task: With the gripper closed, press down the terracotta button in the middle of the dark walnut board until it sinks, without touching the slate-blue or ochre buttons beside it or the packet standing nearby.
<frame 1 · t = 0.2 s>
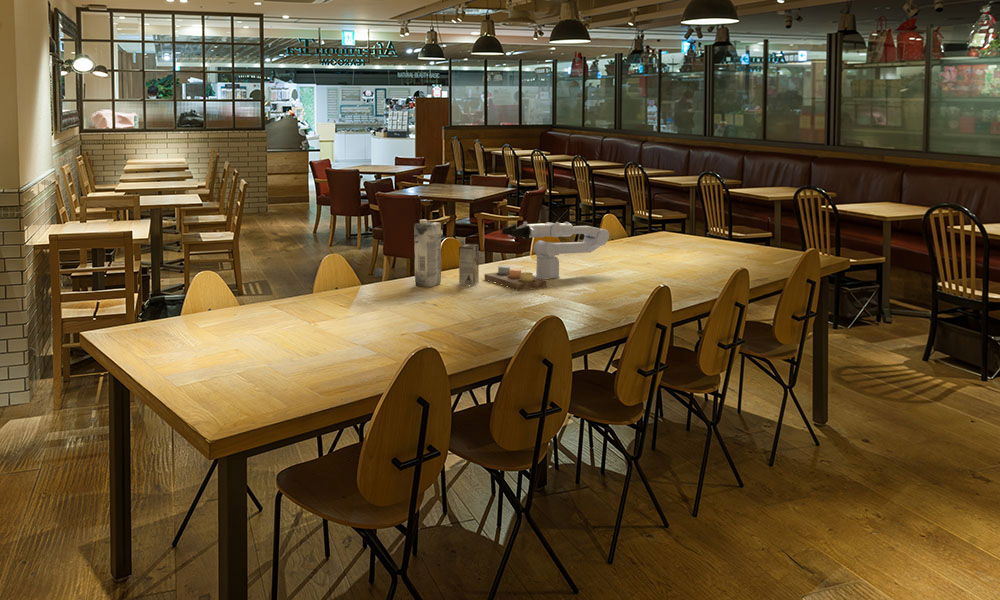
hand: (507, 232, 366), 21 cm above the table, tool horizontal, fingers open, 7 cm apart
juice carton: (428, 285, 363), on the table
button blue: (504, 270, 374), point 4 cm above the table, slide at 0.0 cm
coffee box: (469, 284, 366), on the table
board: (515, 283, 368), on the table
button terracotta: (515, 274, 367), point 4 cm above the table, slide at 0.0 cm
button ochre: (526, 277, 360), point 4 cm above the table, slide at 0.0 cm
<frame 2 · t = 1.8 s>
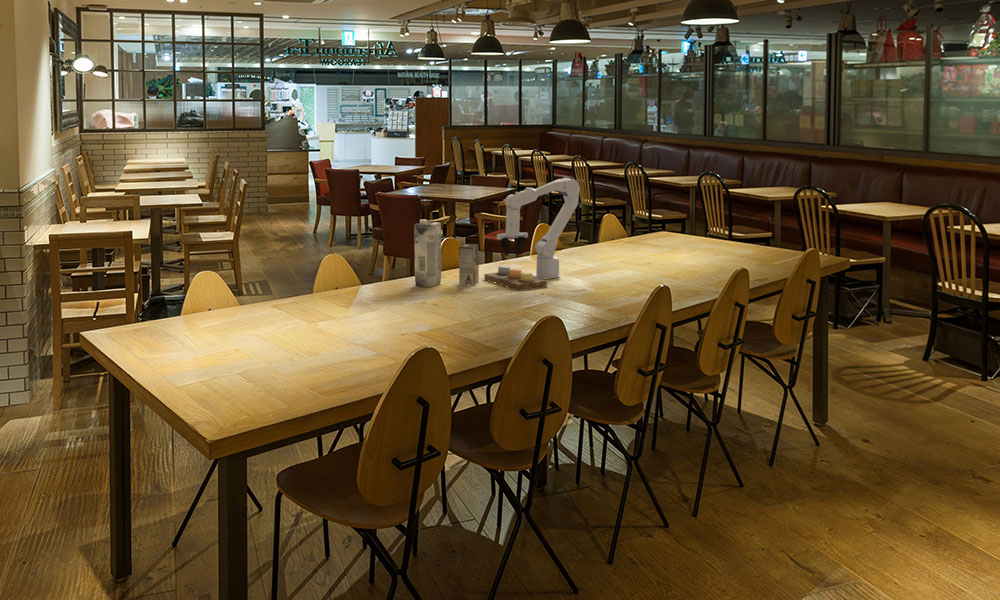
hand: (511, 255, 374), 10 cm above the table, tool pointing down, fingers open, 5 cm apart
nothing on the table moved.
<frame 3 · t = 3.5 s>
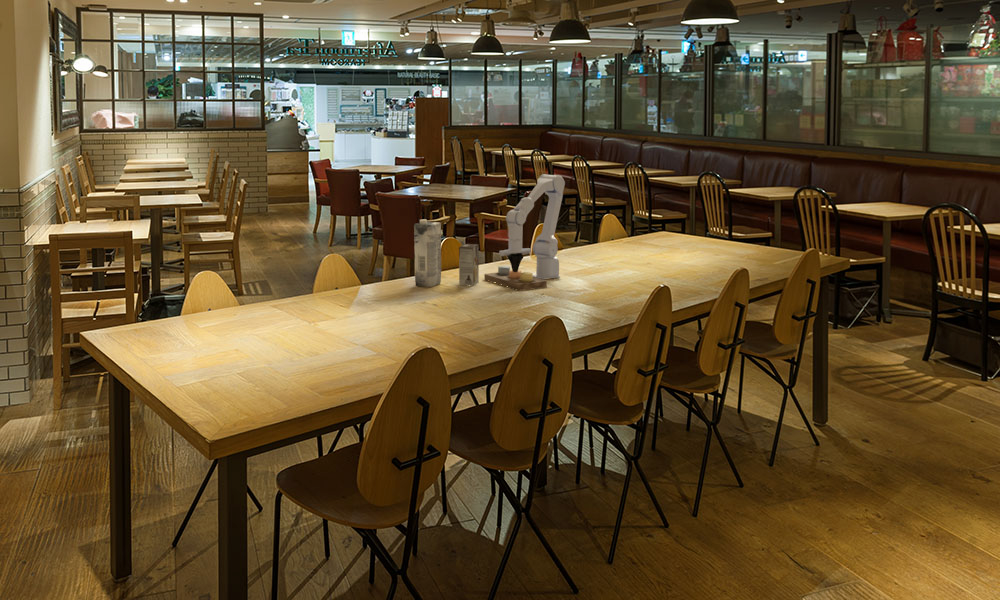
hand: (515, 271, 367), 5 cm above the table, tool pointing down, fingers closed, pressing on button terracotta
button terracotta: (515, 275, 367), point 3 cm above the table, slide at 0.6 cm, touching gripper
everything else where it was.
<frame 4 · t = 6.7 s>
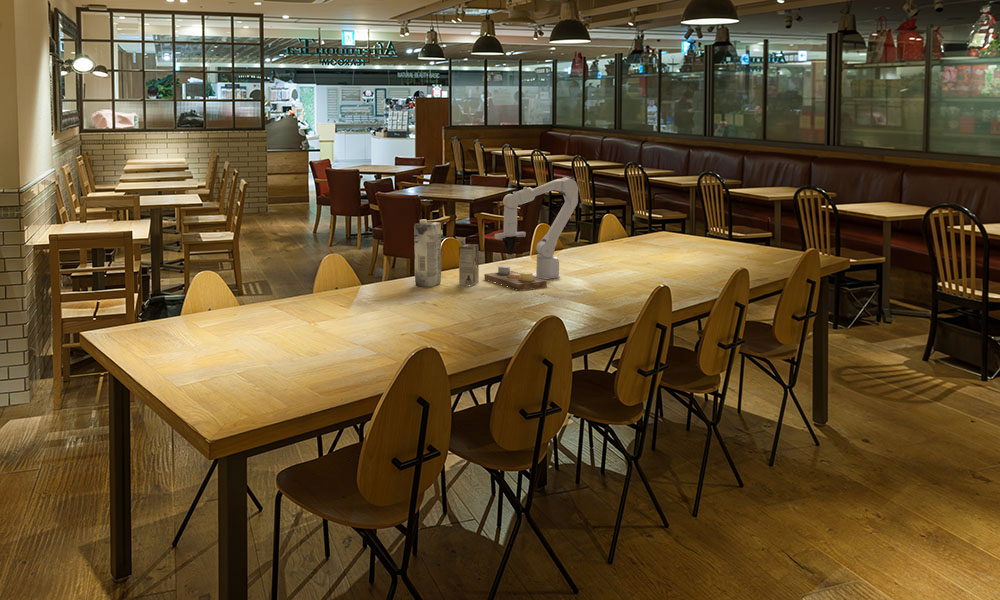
hand: (509, 254, 376), 10 cm above the table, tool pointing down, fingers closed
button terracotta: (515, 278, 367), point 2 cm above the table, slide at 1.8 cm
everything else where it was.
at the end: button terracotta slide at 1.8 cm; button blue slide at 0.0 cm; button ochre slide at 0.0 cm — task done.
